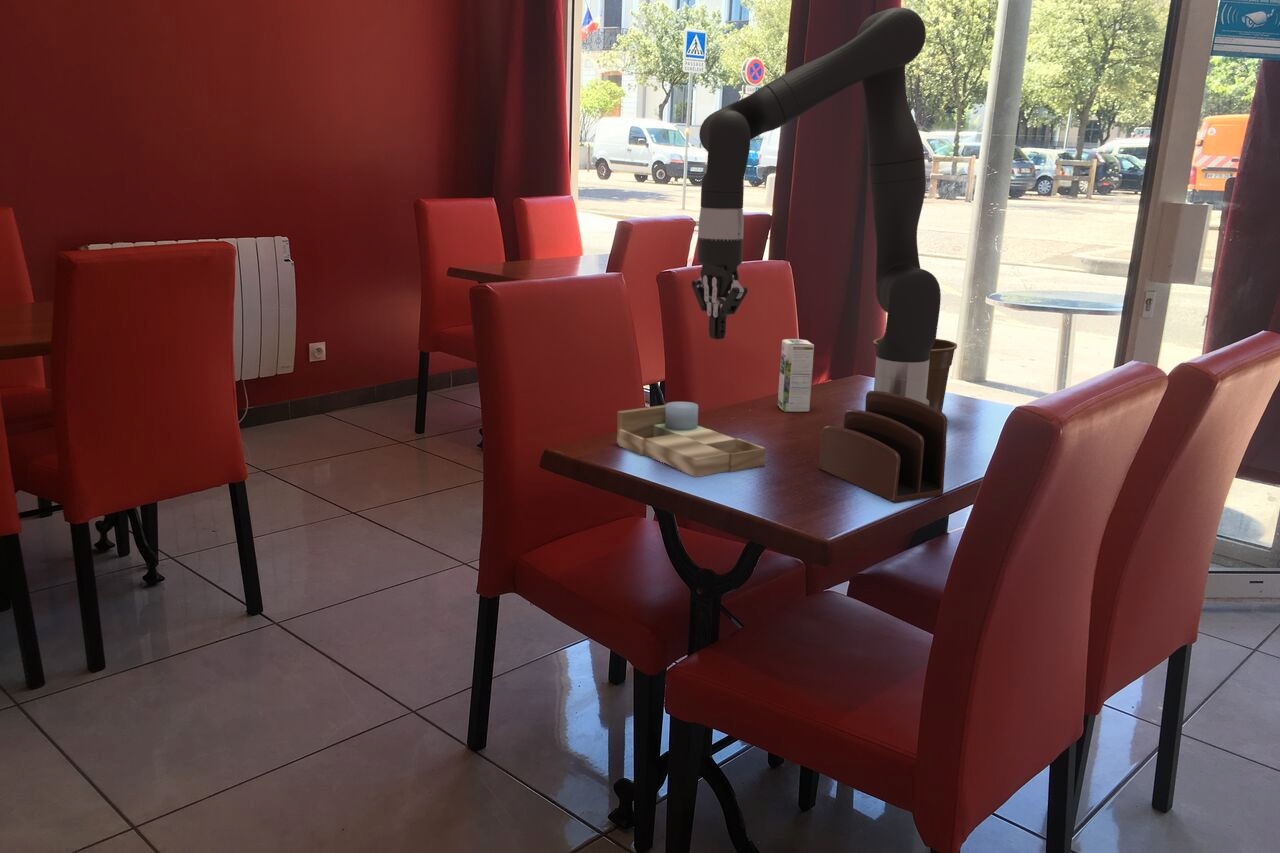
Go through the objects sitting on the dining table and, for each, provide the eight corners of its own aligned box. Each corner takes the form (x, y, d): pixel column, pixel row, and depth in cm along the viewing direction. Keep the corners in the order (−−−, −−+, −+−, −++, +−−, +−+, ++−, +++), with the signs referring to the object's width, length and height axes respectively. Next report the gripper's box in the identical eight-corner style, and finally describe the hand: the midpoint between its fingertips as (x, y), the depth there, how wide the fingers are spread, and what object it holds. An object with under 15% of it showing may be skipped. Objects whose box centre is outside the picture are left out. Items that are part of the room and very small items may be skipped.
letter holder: (864, 463, 181) (870, 384, 177) (943, 496, 163) (952, 409, 160) (817, 469, 176) (822, 388, 173) (893, 504, 159) (901, 415, 156)
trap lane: (765, 465, 178) (767, 431, 176) (694, 478, 169) (695, 443, 168) (681, 433, 197) (682, 402, 196) (614, 443, 189) (614, 411, 188)
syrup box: (776, 406, 221) (780, 338, 217) (803, 405, 221) (807, 338, 218) (783, 412, 215) (787, 343, 212) (810, 412, 216) (815, 343, 212)
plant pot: (852, 420, 210) (858, 341, 206) (890, 407, 222) (896, 332, 218) (927, 435, 200) (935, 352, 196) (962, 420, 212) (970, 342, 208)
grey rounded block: (686, 421, 195) (687, 400, 194) (703, 428, 190) (704, 407, 189) (659, 424, 192) (659, 403, 191) (675, 431, 187) (675, 410, 186)
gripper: (763, 238, 169) (758, 342, 174) (714, 232, 180) (710, 331, 184) (727, 239, 165) (723, 346, 170) (679, 233, 176) (676, 334, 180)
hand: (716, 338), depth 177 cm, fingers closed
